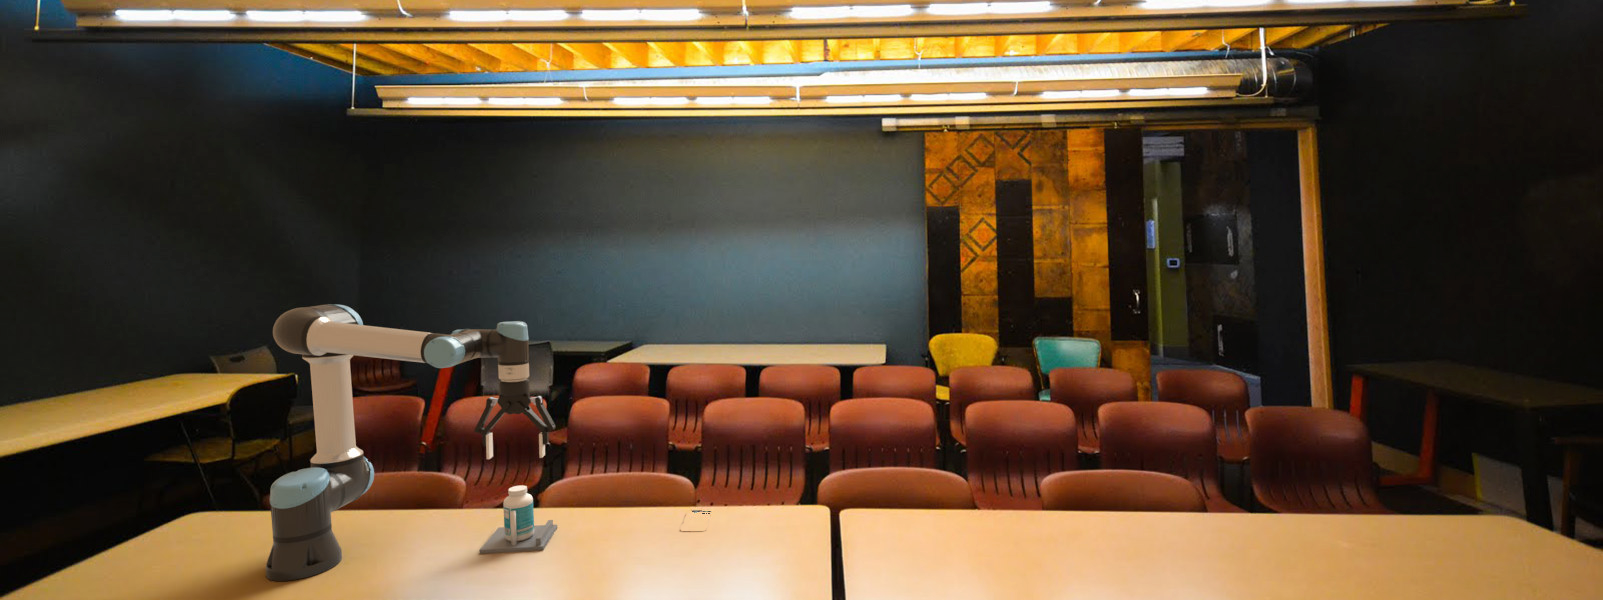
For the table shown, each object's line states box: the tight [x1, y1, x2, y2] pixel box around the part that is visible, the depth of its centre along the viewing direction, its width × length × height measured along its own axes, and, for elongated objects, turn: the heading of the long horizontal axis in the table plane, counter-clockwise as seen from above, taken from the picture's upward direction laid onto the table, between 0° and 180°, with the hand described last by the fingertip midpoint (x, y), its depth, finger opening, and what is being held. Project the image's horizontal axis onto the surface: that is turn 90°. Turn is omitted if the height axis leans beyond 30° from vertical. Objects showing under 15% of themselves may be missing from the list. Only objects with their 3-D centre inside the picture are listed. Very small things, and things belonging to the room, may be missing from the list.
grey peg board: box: [479, 511, 558, 554], centre depth 176 cm, size 16×14×10 cm
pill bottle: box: [502, 485, 535, 541], centre depth 176 cm, size 8×7×14 cm
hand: (516, 457), depth 175 cm, fingers open, 13 cm apart
